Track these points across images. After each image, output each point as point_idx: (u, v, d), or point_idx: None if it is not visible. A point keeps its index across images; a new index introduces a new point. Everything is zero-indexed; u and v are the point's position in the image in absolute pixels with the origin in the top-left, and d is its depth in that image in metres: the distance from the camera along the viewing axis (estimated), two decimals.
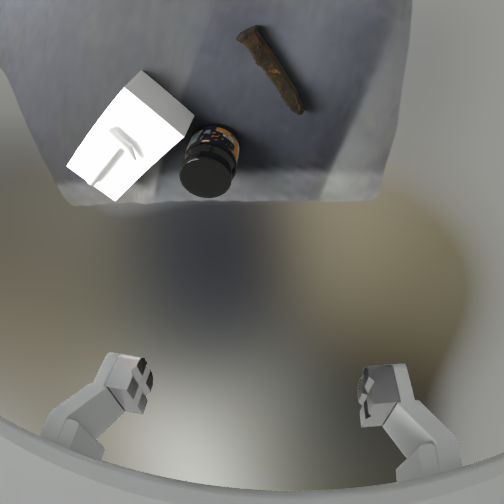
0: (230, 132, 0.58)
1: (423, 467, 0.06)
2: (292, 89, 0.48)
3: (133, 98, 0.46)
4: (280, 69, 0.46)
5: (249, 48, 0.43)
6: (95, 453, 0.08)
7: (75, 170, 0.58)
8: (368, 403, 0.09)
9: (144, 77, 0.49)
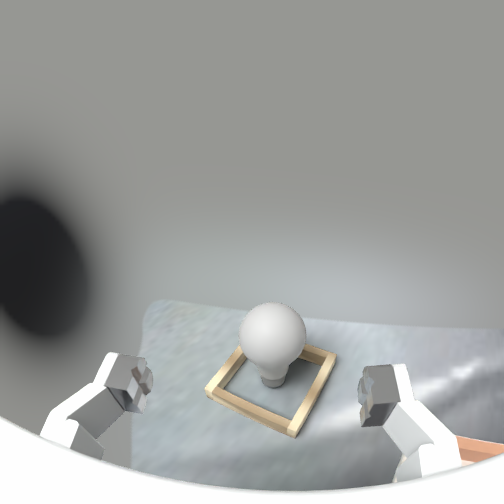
0: None
1: (423, 467, 0.06)
2: None
3: None
4: None
5: None
6: (95, 453, 0.08)
7: None
8: (368, 403, 0.09)
9: None
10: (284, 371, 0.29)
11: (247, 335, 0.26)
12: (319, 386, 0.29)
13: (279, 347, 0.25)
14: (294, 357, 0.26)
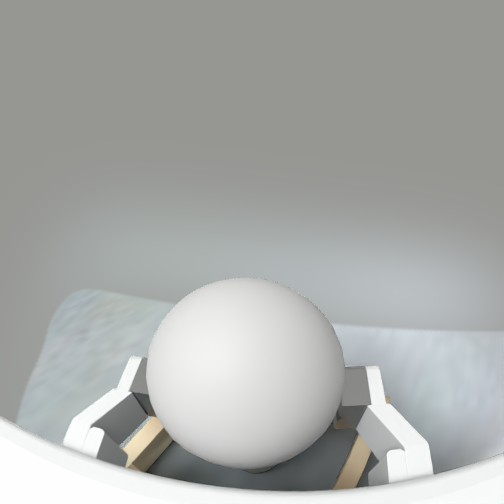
0: None
1: (390, 473, 0.06)
2: None
3: None
4: None
5: None
6: (120, 460, 0.08)
7: None
8: None
9: None
10: None
11: (157, 378, 0.07)
12: (358, 474, 0.11)
13: (262, 428, 0.06)
14: None
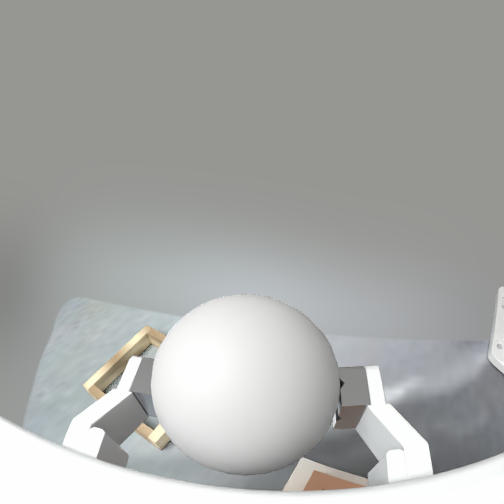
0: None
1: (390, 473, 0.06)
2: None
3: None
4: None
5: None
6: (120, 460, 0.08)
7: None
8: (338, 405, 0.09)
9: None
10: None
11: (161, 390, 0.08)
12: None
13: (258, 441, 0.07)
14: (303, 455, 0.08)
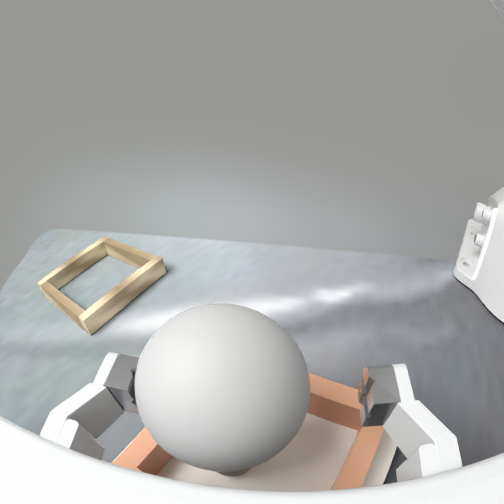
0: None
1: (423, 467, 0.06)
2: None
3: None
4: None
5: None
6: (95, 453, 0.08)
7: None
8: (368, 403, 0.09)
9: None
10: None
11: (143, 386, 0.08)
12: (127, 283, 0.27)
13: (227, 437, 0.07)
14: (271, 456, 0.08)
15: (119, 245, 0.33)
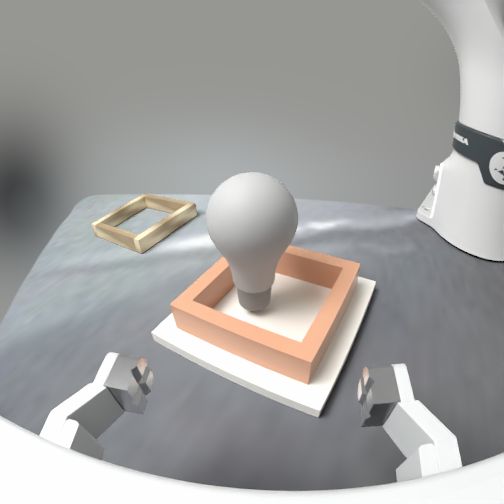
0: None
1: (423, 467, 0.06)
2: None
3: None
4: None
5: None
6: (95, 452, 0.08)
7: None
8: (368, 403, 0.09)
9: None
10: (268, 279, 0.22)
11: (215, 202, 0.19)
12: (170, 218, 0.38)
13: (257, 214, 0.18)
14: (279, 239, 0.19)
15: (158, 197, 0.44)
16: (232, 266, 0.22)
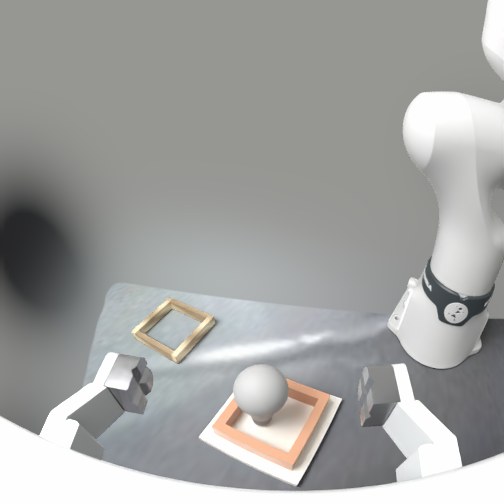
0: None
1: (423, 467, 0.06)
2: None
3: None
4: None
5: None
6: (95, 453, 0.08)
7: None
8: (368, 403, 0.09)
9: None
10: (270, 416, 0.34)
11: (239, 392, 0.30)
12: (196, 333, 0.50)
13: (264, 404, 0.29)
14: (277, 410, 0.30)
15: (182, 305, 0.56)
16: None
